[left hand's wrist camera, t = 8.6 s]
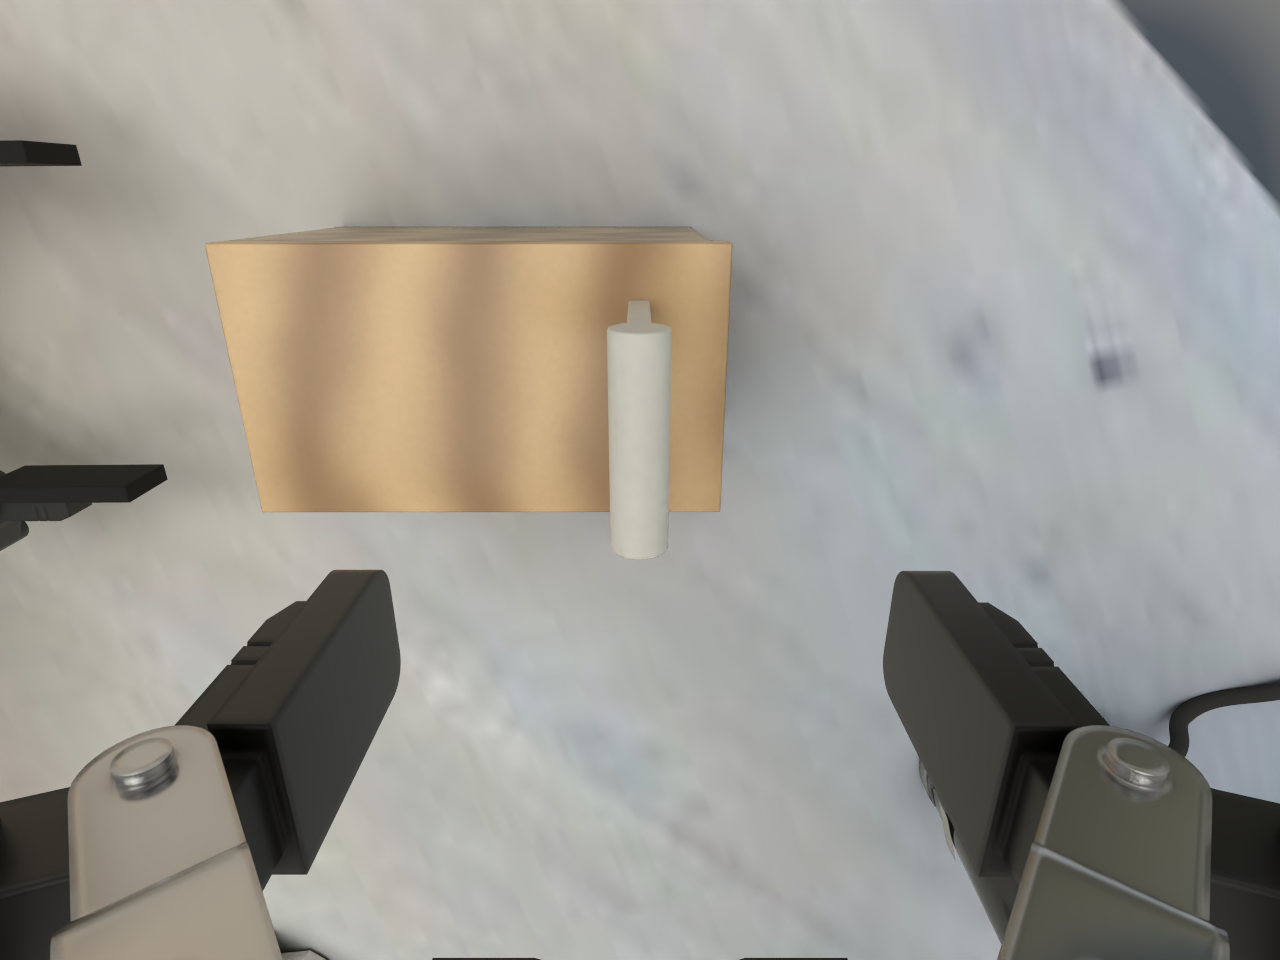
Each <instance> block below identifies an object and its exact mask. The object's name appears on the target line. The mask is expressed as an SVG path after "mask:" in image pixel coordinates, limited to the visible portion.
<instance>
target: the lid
mask: <svg viewBox="0 0 1280 960" xmlns="http://www.w3.org/2000/svg"><path fill="white" fill-rule="evenodd" d="M205 247H206V252H207V257H208V261H209V266H210V270H211V275H212V280H213V284H214V289H215V294H216V298H217V303H218V308H219V312H220V317H221V322H222V326H223V331H224V335H225V340H226V345H227V349H228V354H229V359H230V363H231V368H232V373H233V377H234V382H235V387H236V391H237V396H238V400H239V405H240V410H241V414H242V419H243V424H244V428H245V433H246V438H247V442H248V447H249V452H250V456H251V461H252V465H253V470H254V475H255V479H256V484H257V489H258V493H259V498H260V503H261V507H262V511H263V512H610V539H611V549H612V550H613V552H614V553H615V554H617V555H619V556H621V557H624V558H628V559H635V560H644V559H651V558H655V557H658V556H660V555H662V554H663V553H664V552H665V551H666V550H667V548H668V520H669V512H720V503H721V481H722V459H723V437H724V415H725V393H726V371H727V349H728V327H729V305H730V283H731V261H732V243H730V242H728V241H221V242H213V243H206V244H205Z"/></svg>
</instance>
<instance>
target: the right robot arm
mask: <svg viewBox="0 0 1280 960" xmlns="http://www.w3.org/2000/svg"><path fill="white" fill-rule="evenodd" d="M0 166H82V165H81V161H80V158H79V154H78V150H77V147H76V145H69V144H57V143H45V142H33V141H0ZM166 480H167V476H166V472H165V469H164V465H44V466H23V467H21V468H19V469H17V470H14V471H12V472H10V473H8V474H6V473H4V472H2V471H1V470H0V551H1V550H3V549H4V548H6V547H8V546H10V545H12V544H13V543H15V542H17V541H19V540H20V539H22V538H24V537H25V536H27V535H28V533H29V528H28V526H27V524H26V522H25V521H48V520H49V521H61V520H64V519H66V518H68V517H71V516H72V515H74V514H76V513H78V512H79V511H81V510H83V509H85V508H86V507H88V506H90V505H92V503H102V502H131V501H133V500H134V499H136V498H138V497H139V496H141V495H143V494H144V493H146V492H147V491H149V490H151V489H152V488H154V487H156V486H157V485H159V484H161V483H162V482H164V481H166Z"/></svg>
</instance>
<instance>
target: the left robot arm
mask: <svg viewBox="0 0 1280 960" xmlns="http://www.w3.org/2000/svg"><path fill="white" fill-rule="evenodd" d="M247 643H248V644H247V646H243V648H242V649H241V650H240V651H239V652H238V653H237V654H236V656H235V657H234V658H233V659H232V660H231V661H232V663H231V665H227V666H226V667H225V668H224V669H223V671H222V672H221V673H220V674H219V675H218V676H217V677H216V679H215V680H214V681H213V682H212V683H211V684H210V685H209V687H208V688H207V689H206V690H205V691H204V692H203V693H202V695H201V696H200V697H199V698H198V699H197V700H196V701H195V703H194V704H193V705H192V706H191V707H190V708H189V710H188V711H187V712H186V713H185V714H184V715H183V716H182V718H181V719H180V720H179V721H178V722H177V723H176V724H175V726H168V727H162V728H158V729H153V730H150V731H147V732H143V733H140V734H138V735H135V736H133V737H130V738H128V739H126V740H124V741H122V742H120V743H117V744H116V745H114V746H112V747H110V748H109V749H107V750H105V751H104V752H102V753H101V754H100V755H98V756H97V757H95V758H94V759H93V760H92V761H91V762H89V763H88V764H87V765H86V766H85V767H84V768H83V769H82V770H81V771H80V772H79V774H78V775H77V776H76V778H75V779H74V781H73V782H72V784H71V786H70V787H68V788H64V789H59V790H55V791H50V792H46V793H41V794H37V795H32V796H28V797H23V798H19V799H14V800H10V801H5V802H0V960H283V959H282V955H281V952H280V949H279V945H278V942H277V939H276V935H275V932H274V929H273V925H272V922H271V919H270V915H269V912H268V909H267V905H266V902H265V899H264V895H263V890H264V888H265V886H266V884H267V882H268V880H269V879H270V877H271V875H272V874H307V873H308V871H309V869H310V867H311V865H312V863H313V861H314V859H315V857H316V855H317V853H318V851H319V849H320V847H321V845H322V843H323V841H324V838H325V836H326V834H327V832H328V830H329V828H330V826H331V824H332V822H333V820H334V818H335V816H336V814H337V812H338V810H339V808H340V806H341V804H342V802H343V800H344V797H345V795H346V793H347V791H348V789H349V787H350V785H351V783H352V781H353V779H354V777H355V775H356V773H357V771H358V769H359V767H360V765H361V763H362V761H363V759H364V756H365V754H366V752H367V750H368V748H369V746H370V744H371V742H372V740H373V738H374V736H375V734H376V732H377V730H378V728H379V726H380V724H381V722H382V720H383V718H384V715H385V713H386V711H387V709H388V707H389V705H390V703H391V701H392V699H393V697H394V695H395V692H396V689H397V686H398V682H399V676H400V649H399V643H398V636H397V629H396V622H395V616H394V609H393V602H392V596H391V589H390V583H389V579H388V577H387V574H386V573H385V572H384V571H383V570H333V571H331V572H330V573H329V574H328V575H327V577H326V578H325V579H324V580H323V582H322V583H321V584H320V585H319V587H318V588H317V589H316V590H315V591H314V593H313V594H312V595H311V596H310V598H309V599H308V600H307V601H296V602H294V603H293V604H291V605H290V606H288V607H287V608H285V609H283V610H282V611H280V612H279V613H277V614H275V615H274V616H272V617H271V618H269V619H267V620H266V621H265V622H264V623H263V625H262V626H261V627H260V628H259V629H258V630H257V632H256V633H255V634H254V635H253V636H252V637H251V638H250V640H249V641H248V642H247ZM1037 644H1038V643H1037V642H1036V641H1035V640H1034V639H1033V638H1032V637H1031V636H1030V634H1029V633H1028V632H1027V631H1026V630H1025V629H1024V628H1023V626H1022V625H1021V624H1020V623H1019V622H1018V621H1017V620H1015V619H1013V618H1012V617H1010V616H1009V615H1007V614H1005V613H1004V612H1002V611H1001V610H999V609H997V608H996V607H994V606H993V605H991V604H989V603H978V602H977V601H976V599H975V598H974V597H973V596H972V595H971V593H970V592H969V591H968V590H967V588H966V587H965V586H964V585H963V584H962V582H961V581H960V580H959V579H958V578H957V576H956V575H955V574H954V573H952V572H951V571H901V572H900V573H899V574H898V575H897V577H896V580H895V583H894V589H893V595H892V602H891V609H890V615H889V622H888V629H887V635H886V642H885V648H884V656H883V671H884V679H885V685H886V689H887V692H888V695H889V697H890V699H891V701H892V703H893V705H894V707H895V709H896V711H897V713H898V715H899V717H900V719H901V721H902V723H903V725H904V727H905V729H906V731H907V733H908V735H909V737H910V739H911V742H912V744H913V746H914V748H915V750H916V752H917V754H918V756H919V758H920V776H921V780H922V783H923V785H924V787H925V789H926V791H927V793H928V795H929V798H930V799H931V801H932V802H933V804H934V806H936V808H937V810H938V812H939V814H940V816H941V819H942V821H943V826H944V831H945V836H946V841H947V844H948V846H949V849H950V851H951V853H952V855H953V857H954V859H955V856H954V851H953V846H952V842H953V844H954V847H955V849H956V851H957V853H958V855H959V857H960V859H961V861H962V863H963V865H964V867H965V869H966V871H967V874H968V876H969V878H970V880H971V882H972V884H973V886H974V888H975V890H976V892H977V894H978V896H979V899H980V901H981V903H982V905H983V907H984V909H985V911H986V913H987V915H988V917H989V919H990V921H991V924H992V926H993V928H994V930H995V932H996V934H997V936H998V938H999V940H1000V942H1001V944H1002V945H1001V949H1000V952H999V955H998V959H997V960H1280V804H1279V803H1274V802H1270V801H1265V800H1261V799H1256V798H1252V797H1247V796H1243V795H1238V794H1234V793H1229V792H1225V791H1220V790H1216V789H1212V788H1210V786H1209V784H1208V782H1207V781H1206V779H1205V778H1204V776H1203V775H1202V774H1201V772H1200V771H1199V770H1198V769H1197V768H1196V767H1195V766H1194V765H1193V764H1192V763H1191V762H1189V761H1188V760H1187V759H1186V758H1185V756H1186V754H1187V752H1188V748H1189V735H1188V724H1189V723H1190V722H1191V721H1192V720H1194V719H1195V718H1196V717H1197V716H1199V715H1201V714H1202V713H1204V712H1207V711H1209V710H1212V709H1215V708H1219V707H1224V706H1230V705H1237V704H1247V703H1257V702H1267V701H1274V700H1280V683H1275V684H1269V685H1263V686H1255V687H1245V688H1236V689H1228V690H1222V691H1217V692H1212V693H1208V694H1204V695H1201V696H1198V697H1195V698H1193V699H1190V700H1189V701H1187V702H1185V703H1184V704H1182V705H1181V706H1180V707H1179V708H1177V709H1176V710H1175V711H1174V712H1173V713H1172V715H1171V718H1170V722H1169V733H1170V744H1169V746H1166V745H1164V744H1163V743H1160V742H1158V741H1156V740H1154V739H1152V738H1150V737H1147V736H1145V735H1142V734H1140V733H1137V732H1133V731H1130V730H1127V729H1122V728H1118V727H1112V726H1110V725H1109V724H1108V723H1107V722H1106V721H1105V720H1104V718H1103V717H1102V716H1101V715H1100V714H1099V713H1098V712H1097V711H1096V709H1095V708H1094V707H1093V706H1092V705H1091V704H1090V703H1089V701H1088V700H1087V699H1086V698H1085V697H1084V696H1083V695H1082V693H1081V692H1080V691H1079V690H1078V689H1077V688H1076V687H1075V686H1074V684H1073V683H1072V682H1071V681H1070V680H1069V679H1068V678H1067V676H1066V675H1065V674H1064V673H1063V672H1062V671H1061V670H1060V668H1059V667H1054V662H1053V661H1052V659H1051V658H1050V657H1049V656H1048V655H1047V654H1046V653H1045V651H1044V650H1043V649H1042V648H1038V646H1037ZM432 960H540V959H536V958H433V959H432ZM740 960H848V959H847V958H744V959H740Z"/></svg>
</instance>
